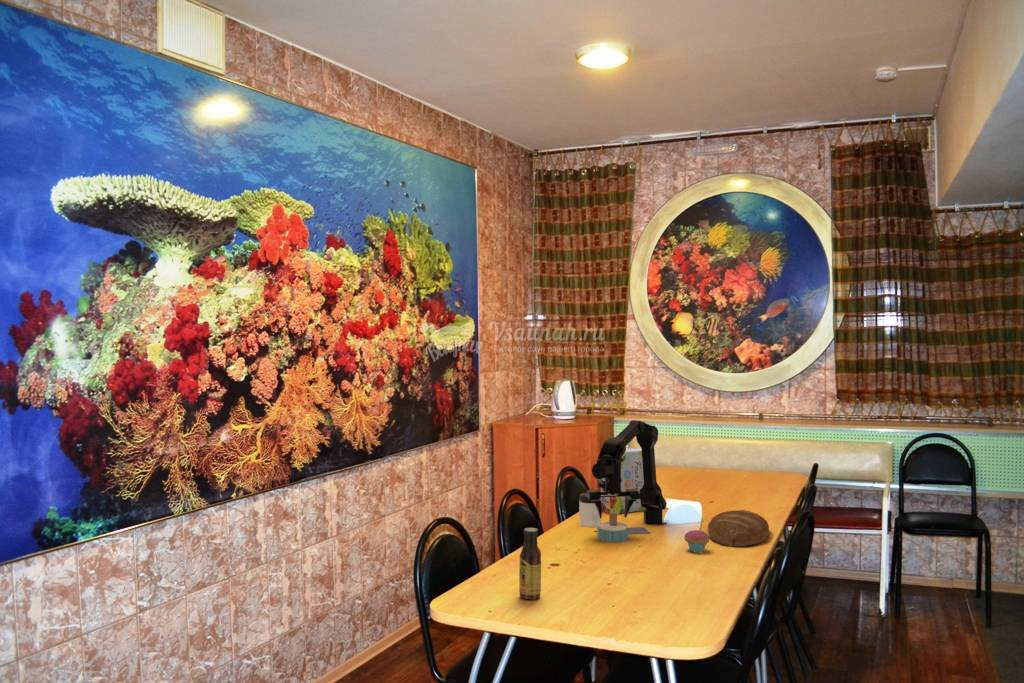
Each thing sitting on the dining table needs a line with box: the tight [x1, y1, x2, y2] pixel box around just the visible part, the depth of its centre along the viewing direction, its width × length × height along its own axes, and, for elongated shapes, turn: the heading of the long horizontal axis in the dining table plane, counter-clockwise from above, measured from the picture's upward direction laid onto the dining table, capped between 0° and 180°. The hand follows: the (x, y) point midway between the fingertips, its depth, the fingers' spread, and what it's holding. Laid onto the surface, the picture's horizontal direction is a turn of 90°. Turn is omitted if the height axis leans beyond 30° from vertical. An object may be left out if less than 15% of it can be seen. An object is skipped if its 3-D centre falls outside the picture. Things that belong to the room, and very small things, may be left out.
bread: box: [707, 509, 770, 547], centre depth 319 cm, size 22×37×8 cm, turn 159°
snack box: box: [600, 447, 645, 515], centre depth 359 cm, size 22×9×26 cm, turn 115°
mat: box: [628, 526, 652, 535], centre depth 323 cm, size 10×10×1 cm
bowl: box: [596, 526, 630, 543], centre depth 312 cm, size 11×11×4 cm
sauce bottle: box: [518, 527, 542, 600], centre depth 245 cm, size 6×6×20 cm
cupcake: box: [683, 517, 711, 553], centre depth 296 cm, size 9×8×12 cm
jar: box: [578, 492, 602, 528], centre depth 333 cm, size 9×8×12 cm
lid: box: [598, 513, 628, 532], centre depth 312 cm, size 10×10×5 cm
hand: (612, 517), depth 312 cm, fingers open, 9 cm apart
